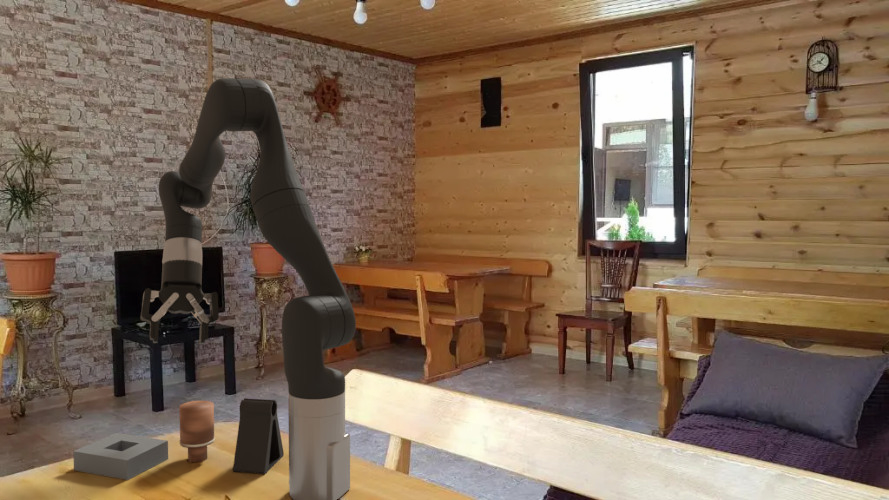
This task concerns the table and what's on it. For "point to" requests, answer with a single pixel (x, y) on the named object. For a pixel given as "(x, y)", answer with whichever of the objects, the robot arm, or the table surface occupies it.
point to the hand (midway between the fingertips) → (179, 343)
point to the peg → (197, 428)
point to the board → (120, 455)
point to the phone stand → (258, 437)
